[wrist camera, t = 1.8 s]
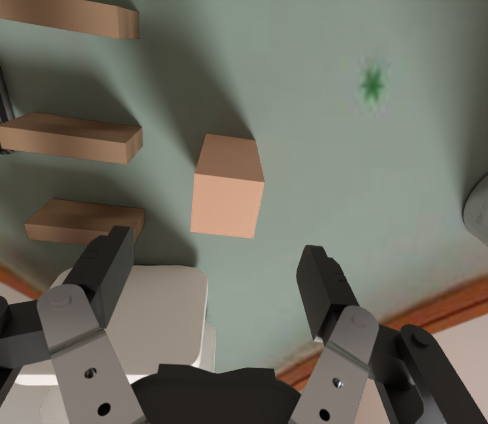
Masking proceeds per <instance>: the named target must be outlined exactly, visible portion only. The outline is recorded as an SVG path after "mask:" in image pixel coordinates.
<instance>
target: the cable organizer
mask: <svg viewBox="0 0 488 424" xmlns="http://www.w3.org/2000/svg"><path fill="white" fill-rule="evenodd" d="M72 268H73V267H72ZM72 268H70V269H68V270H66V271H64V272H63V273H61V274H60V275H59V276H58V278H57V279H56V280H55V282H54V283H53V284H52V286H51V287H50V288H49V289H51V288H53V287H56V286H59V285H61V284H62V283H63V281H64V280H65V278H66V277H67V275H68V274H69V273H70V271H71V270H72ZM207 294H208V277H207V275H206V274H205V273H204V272H203V271H201V270H200V269H197V268H193V267H186V266H183V265H157V266H138V265H133V266H132V269H131V271H130V274H129V276H128V278H127V281H126V283H125V286H124V288H123V290H122V293H121V295H120V298H119V300H118V302H117V305H116V307H115V309H114V312H113V314H112V317H111V319H110V321H109V324H108V326H107V329H104V330H105V331H106V333H107V335H108V338H109V340H110V342H111V344H112V346H113V348H114V351H115V353H116V355H117V357H118V359H119V361H120V364H121V366H122V368H123V370H124V372H125V374H126V377H127V379H128V381H129V383H130V384H132V383H133V382H135V381H137V380H139V379H141V378H143V377H145V376H148V375H151V374H155V373H157V372H158V367H159V364H180V365H190V366H194V367H197V368H200V369H203V370H206V371H210V372H213V373H214V361H215V344H216V330H215V328H214V326H213V325H212V324H211V323H209V322H208V321H205V313H206V303H207ZM101 329H102V328H101ZM15 383H17V384H21V385H51V387H50V389H49V391H48V393H47V395H46V397H45V399H44V400H43V402H42V404H41V407H40V411H39V412H40V413H39V415H40V418H41V420H42V421H43V423H44V424H69V420H68V417H67V413H66V410H65V406H64V403H63V399H62V396H61V392H60V389H59V385H58V382H57V378H56V375H55V371H54V367H53V364H52V360H51V359H50V360H46V361H42V362H37V363H33V364H29V365H25V366H23V367H22V369H21V371H20V373H19V374H18V376H17V378H16V380H15Z"/></svg>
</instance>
